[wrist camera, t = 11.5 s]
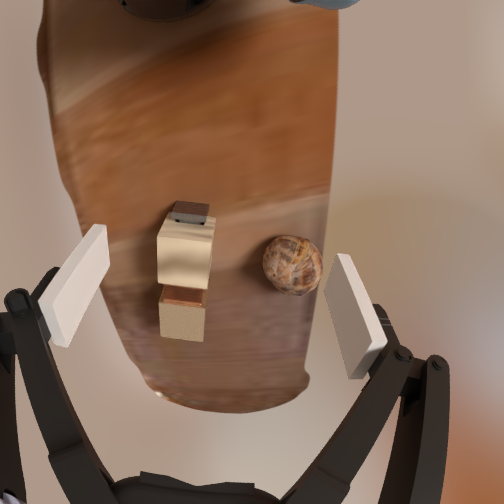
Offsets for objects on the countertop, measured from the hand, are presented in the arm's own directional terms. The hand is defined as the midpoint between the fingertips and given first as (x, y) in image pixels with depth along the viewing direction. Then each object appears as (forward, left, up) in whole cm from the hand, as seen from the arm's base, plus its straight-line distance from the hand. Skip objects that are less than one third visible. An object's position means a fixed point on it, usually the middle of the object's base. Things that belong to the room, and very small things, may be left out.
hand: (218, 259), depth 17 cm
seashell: (+18, +12, -29) cm, 36 cm away
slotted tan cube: (+16, -5, -29) cm, 33 cm away
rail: (+22, -5, -29) cm, 37 cm away
